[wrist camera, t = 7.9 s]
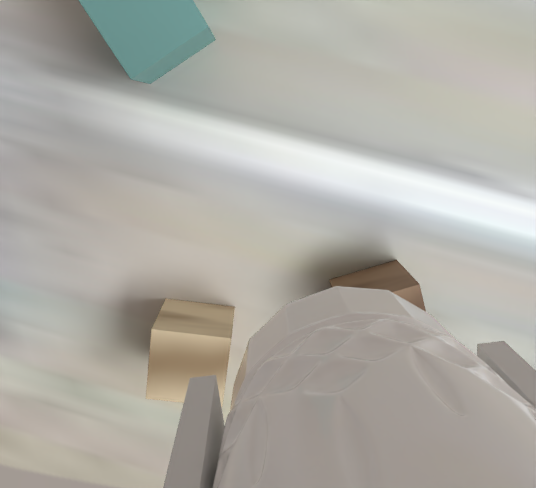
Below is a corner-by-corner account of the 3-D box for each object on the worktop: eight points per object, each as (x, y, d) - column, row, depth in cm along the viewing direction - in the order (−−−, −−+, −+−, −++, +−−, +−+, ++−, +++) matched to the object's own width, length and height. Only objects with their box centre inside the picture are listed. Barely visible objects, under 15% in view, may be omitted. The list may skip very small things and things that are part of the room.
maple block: (226, 366, 36) (222, 406, 31) (160, 359, 36) (145, 398, 31) (234, 306, 35) (231, 338, 30) (166, 298, 34) (151, 329, 30)
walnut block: (411, 320, 35) (435, 353, 31) (346, 339, 36) (360, 375, 31) (396, 259, 34) (419, 284, 29) (329, 279, 34) (340, 307, 30)
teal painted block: (216, 39, 30) (208, 26, 25) (150, 83, 30) (130, 79, 26) (170, -37, 29) (152, -67, 24) (102, 10, 29) (72, -9, 24)
